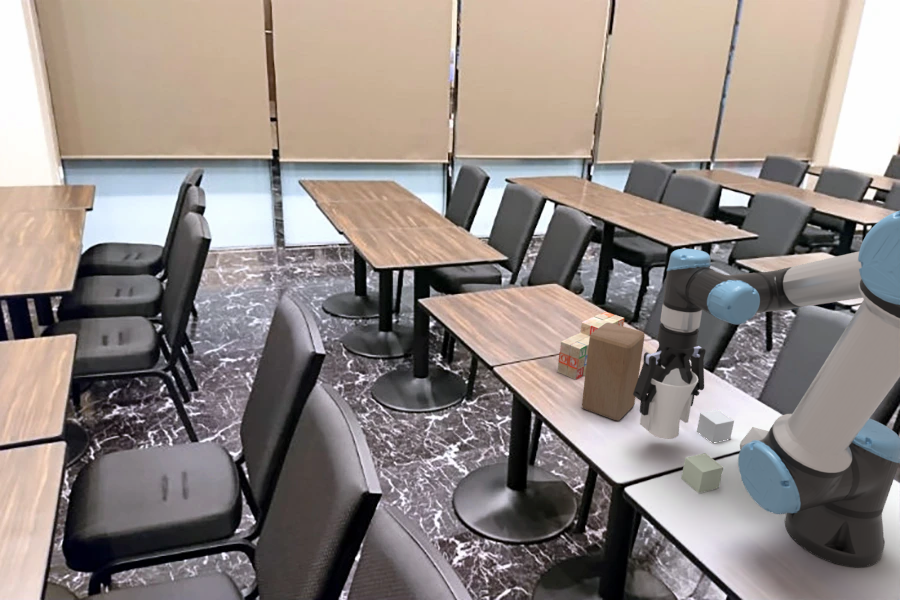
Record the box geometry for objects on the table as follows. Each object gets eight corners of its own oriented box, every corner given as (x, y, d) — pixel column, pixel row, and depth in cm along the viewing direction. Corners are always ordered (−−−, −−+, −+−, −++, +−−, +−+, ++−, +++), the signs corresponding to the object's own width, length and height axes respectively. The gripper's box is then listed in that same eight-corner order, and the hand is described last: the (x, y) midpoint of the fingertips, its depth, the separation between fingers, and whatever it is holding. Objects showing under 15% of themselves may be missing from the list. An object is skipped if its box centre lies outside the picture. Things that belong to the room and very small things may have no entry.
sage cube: (718, 488, 125) (723, 467, 123) (698, 493, 123) (702, 472, 121) (701, 473, 129) (705, 453, 128) (681, 478, 128) (685, 457, 126)
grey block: (760, 485, 127) (797, 453, 125) (726, 452, 130) (762, 420, 128) (761, 477, 135) (796, 447, 132) (729, 446, 138) (762, 416, 135)
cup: (660, 449, 129) (669, 390, 124) (627, 424, 138) (634, 368, 133) (699, 438, 133) (709, 381, 129) (664, 415, 142) (673, 360, 138)
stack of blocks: (576, 380, 166) (580, 338, 161) (556, 372, 170) (560, 330, 165) (619, 357, 180) (625, 317, 175) (600, 350, 184) (605, 310, 180)
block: (618, 423, 146) (629, 345, 139) (579, 409, 152) (588, 333, 145) (635, 406, 154) (646, 331, 147) (597, 393, 159) (606, 320, 152)
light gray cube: (730, 440, 141) (734, 420, 140) (712, 443, 140) (716, 424, 138) (714, 428, 146) (717, 409, 144) (696, 432, 144) (700, 412, 142)
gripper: (709, 313, 134) (692, 406, 142) (622, 324, 127) (610, 422, 135) (735, 326, 128) (716, 423, 135) (646, 339, 120) (632, 441, 128)
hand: (664, 423), depth 135 cm, fingers closed on cup, 9 cm apart
